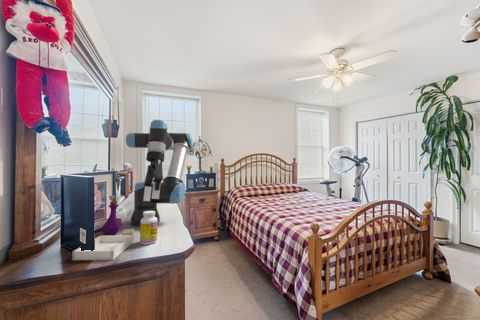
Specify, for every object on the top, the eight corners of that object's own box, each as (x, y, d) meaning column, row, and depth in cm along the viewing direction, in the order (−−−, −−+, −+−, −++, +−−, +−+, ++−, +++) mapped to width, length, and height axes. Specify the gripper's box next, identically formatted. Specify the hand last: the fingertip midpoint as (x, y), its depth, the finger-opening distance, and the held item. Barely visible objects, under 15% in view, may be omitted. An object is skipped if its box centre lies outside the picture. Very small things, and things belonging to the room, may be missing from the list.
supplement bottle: (150, 246, 84) (151, 214, 85) (136, 244, 86) (136, 213, 86) (160, 240, 91) (160, 210, 91) (146, 238, 92) (147, 209, 92)
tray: (100, 242, 87) (100, 235, 87) (133, 242, 88) (133, 235, 88) (72, 260, 72) (72, 251, 72) (113, 259, 72) (113, 251, 72)
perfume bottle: (106, 231, 101) (106, 194, 101) (123, 230, 103) (123, 194, 103) (99, 237, 94) (100, 197, 94) (118, 235, 96) (119, 196, 96)
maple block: (123, 238, 92) (123, 229, 92) (133, 238, 93) (133, 229, 93) (121, 242, 88) (121, 232, 88) (132, 241, 90) (132, 231, 90)
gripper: (140, 157, 103) (134, 201, 97) (155, 143, 84) (149, 197, 78) (156, 160, 107) (151, 202, 101) (173, 147, 88) (169, 198, 82)
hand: (150, 200), depth 90 cm, fingers open, 13 cm apart
